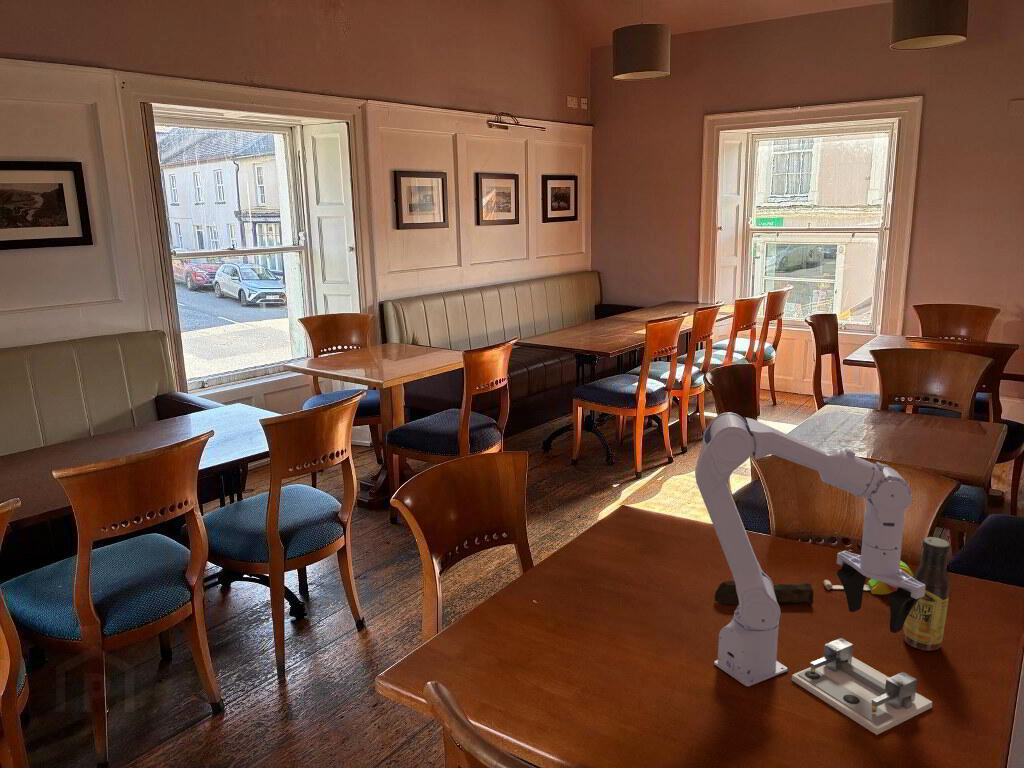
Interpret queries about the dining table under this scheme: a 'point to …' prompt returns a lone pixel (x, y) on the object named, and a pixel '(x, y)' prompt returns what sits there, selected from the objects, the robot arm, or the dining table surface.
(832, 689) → the board
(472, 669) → the dining table surface
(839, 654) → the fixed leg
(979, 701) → the dining table surface
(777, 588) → the hand tool
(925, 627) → the sauce bottle
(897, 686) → the grey sliding bolt
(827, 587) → the toy measuring tape
